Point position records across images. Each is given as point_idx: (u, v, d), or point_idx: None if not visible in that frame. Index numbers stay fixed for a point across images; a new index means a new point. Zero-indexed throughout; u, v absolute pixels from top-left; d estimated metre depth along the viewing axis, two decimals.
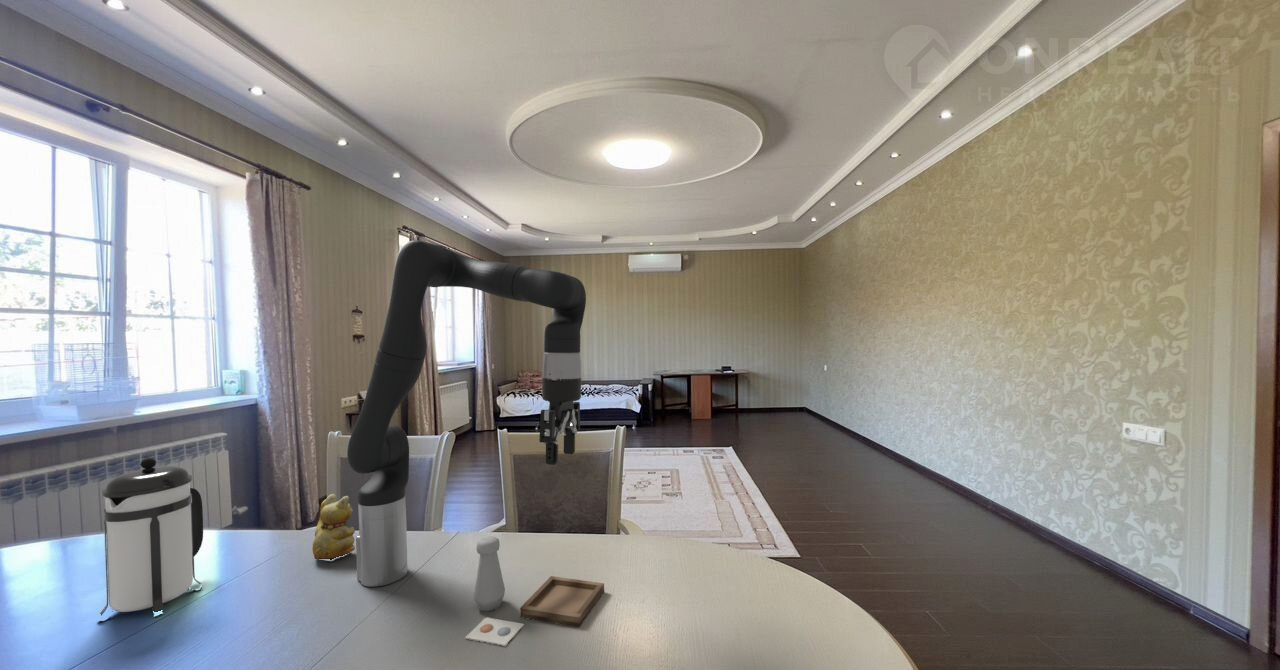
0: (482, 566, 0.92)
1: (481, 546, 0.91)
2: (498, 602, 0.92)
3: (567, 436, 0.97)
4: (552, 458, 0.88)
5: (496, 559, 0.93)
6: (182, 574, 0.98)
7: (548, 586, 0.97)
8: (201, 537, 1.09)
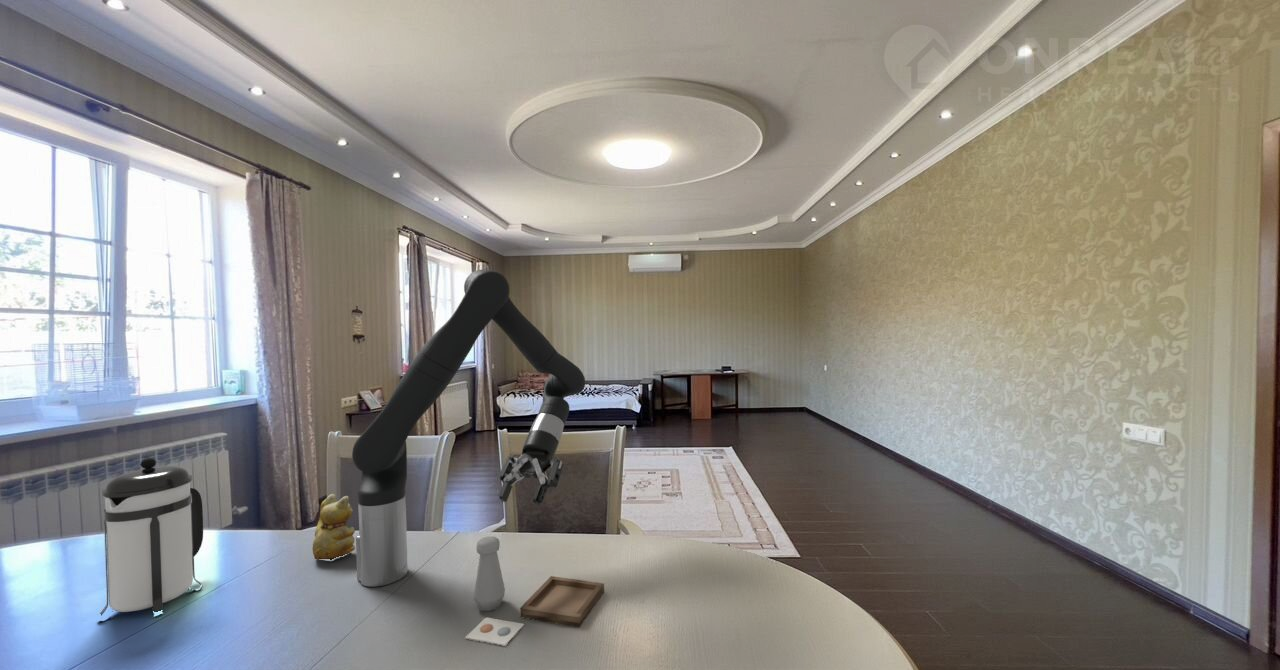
0: (482, 566, 0.92)
1: (481, 546, 0.91)
2: (498, 602, 0.92)
3: (509, 484, 1.07)
4: None
5: (496, 559, 0.93)
6: (182, 574, 0.98)
7: (548, 586, 0.97)
8: (201, 537, 1.09)
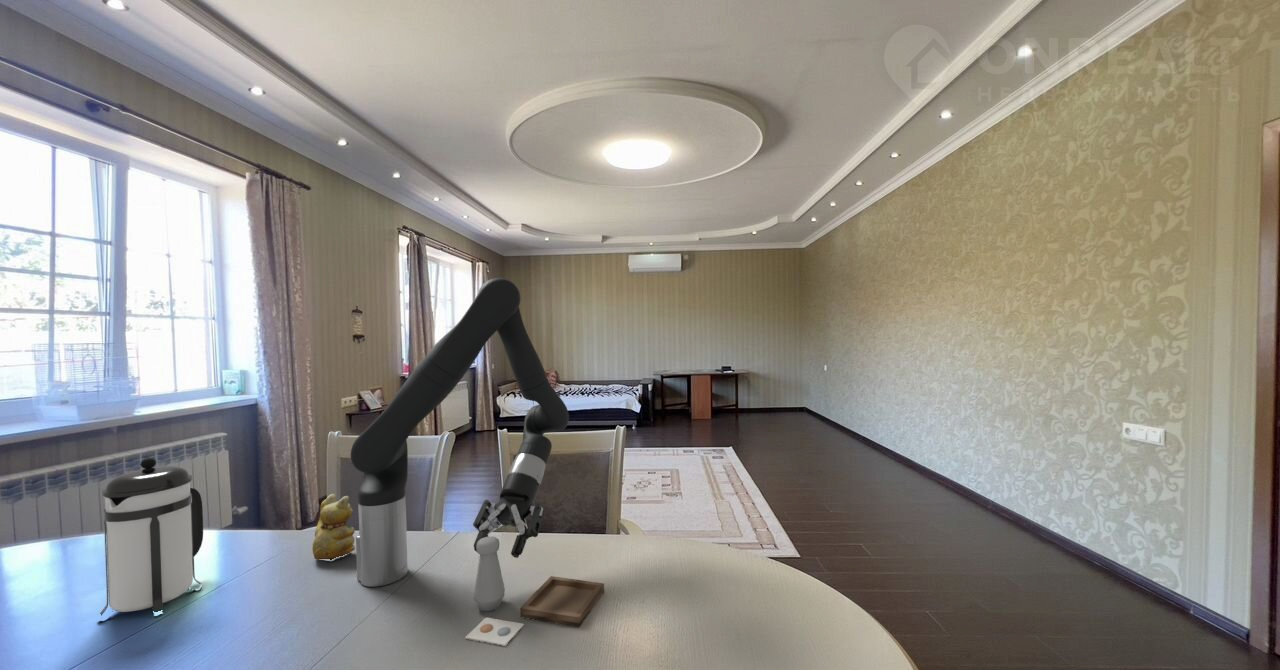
0: (482, 566, 0.91)
1: (480, 546, 0.91)
2: (498, 602, 0.92)
3: (485, 533, 0.99)
4: None
5: (496, 559, 0.93)
6: (182, 574, 0.98)
7: (548, 586, 0.97)
8: (201, 537, 1.09)
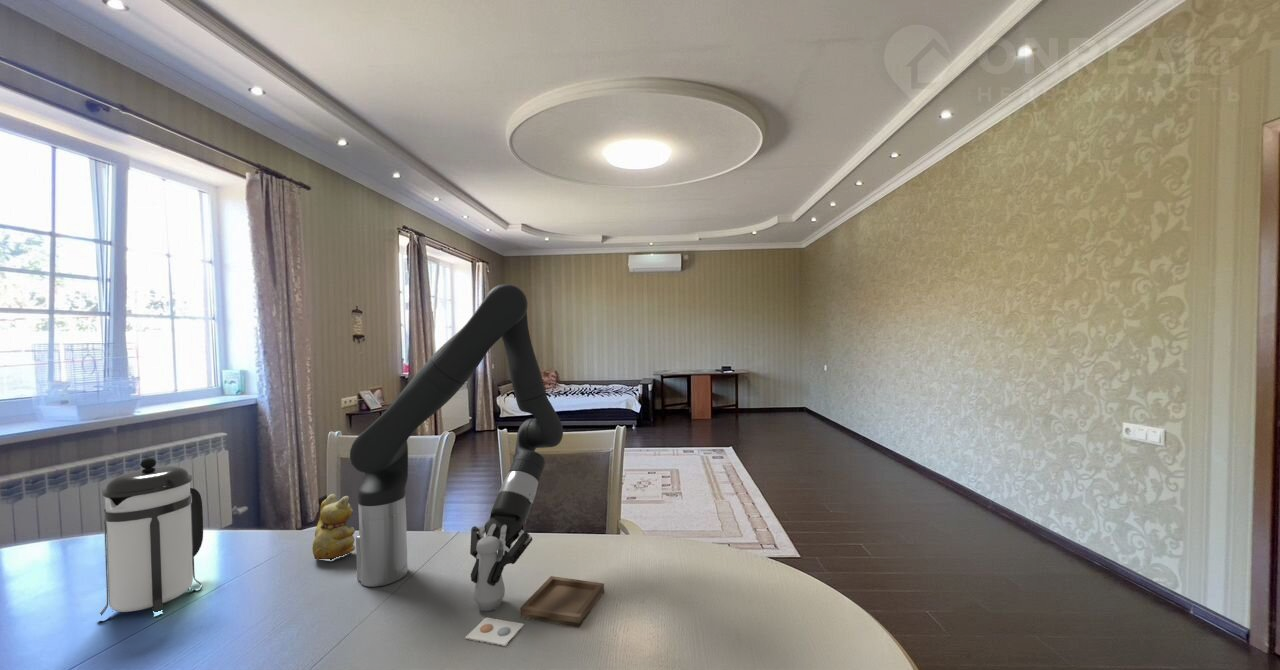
0: (482, 566, 0.92)
1: (480, 546, 0.91)
2: (498, 602, 0.92)
3: None
4: None
5: None
6: (182, 574, 0.98)
7: (548, 586, 0.97)
8: (201, 537, 1.09)
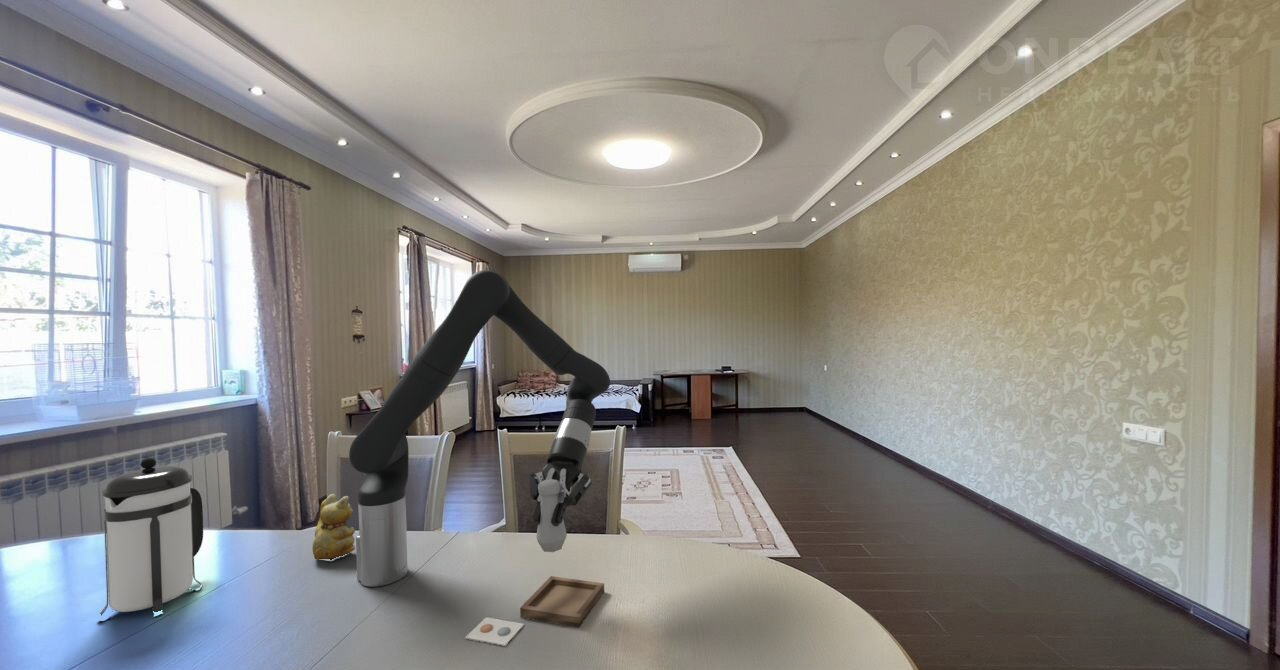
0: (545, 508, 0.91)
1: (543, 487, 0.91)
2: (561, 543, 0.92)
3: None
4: None
5: None
6: (182, 574, 0.98)
7: (548, 586, 0.97)
8: (201, 537, 1.09)
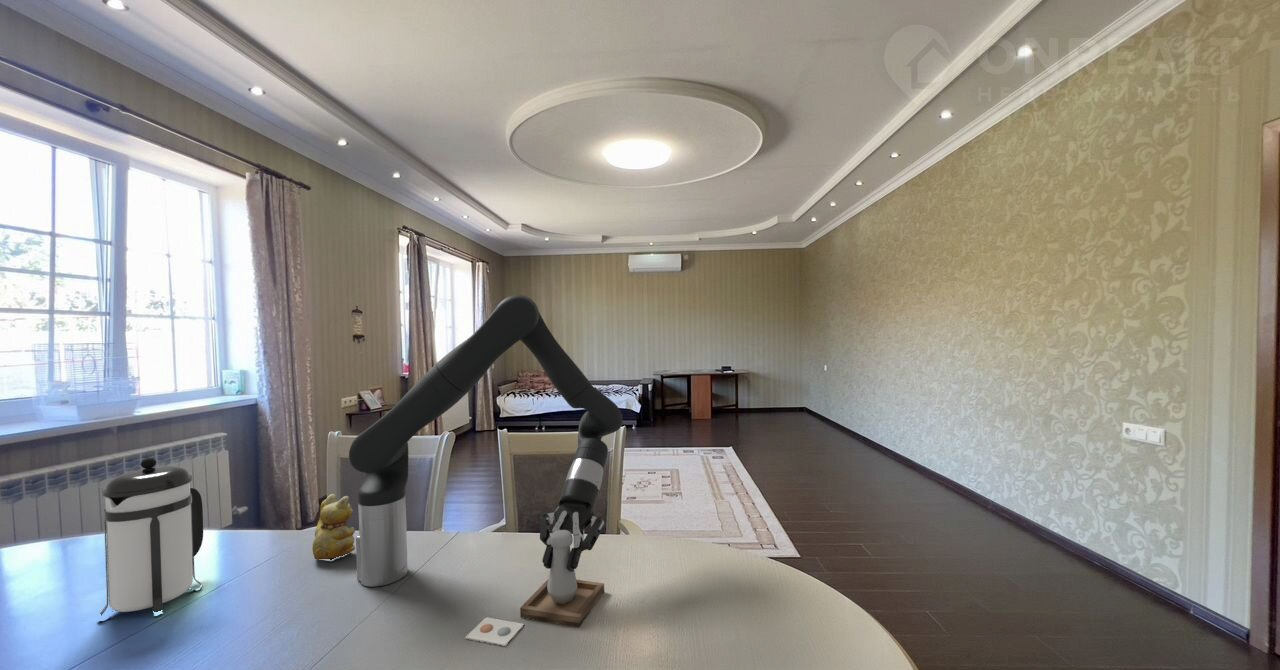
0: (557, 560, 0.91)
1: (556, 540, 0.91)
2: (572, 595, 0.92)
3: None
4: None
5: (569, 553, 0.93)
6: (182, 574, 0.98)
7: None
8: (201, 537, 1.09)
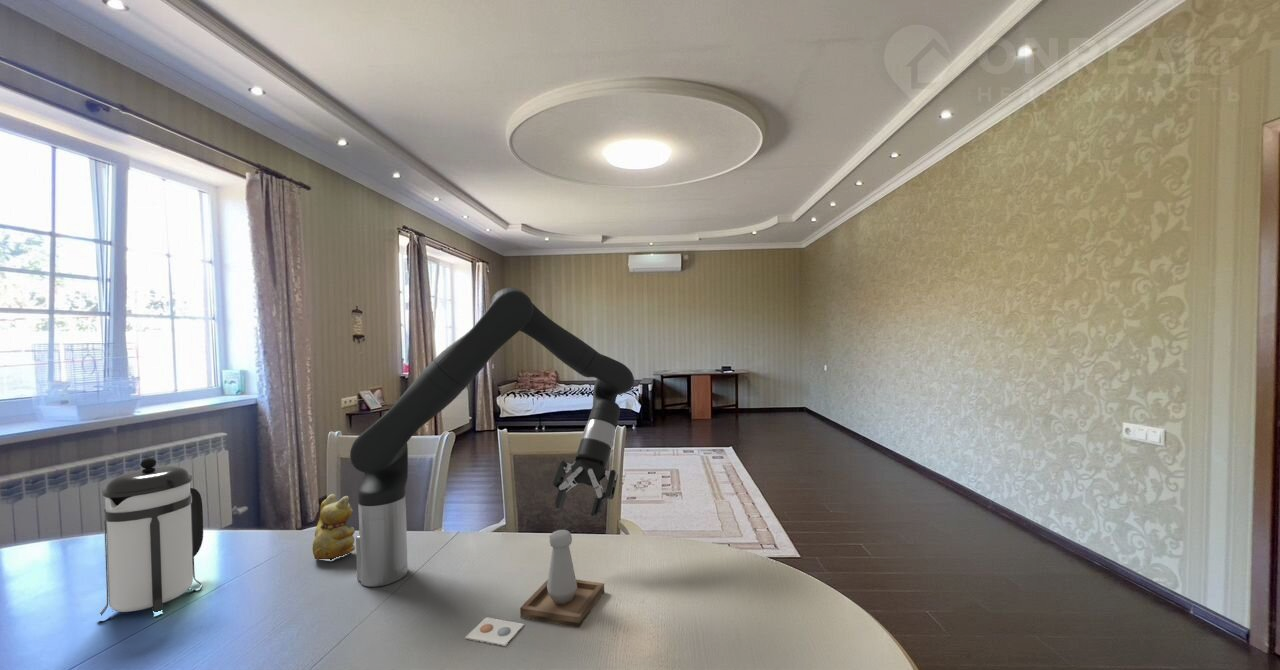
0: (556, 560, 0.92)
1: (555, 540, 0.91)
2: (572, 595, 0.92)
3: (564, 492, 1.08)
4: None
5: (569, 552, 0.93)
6: (182, 574, 0.98)
7: None
8: (201, 537, 1.09)
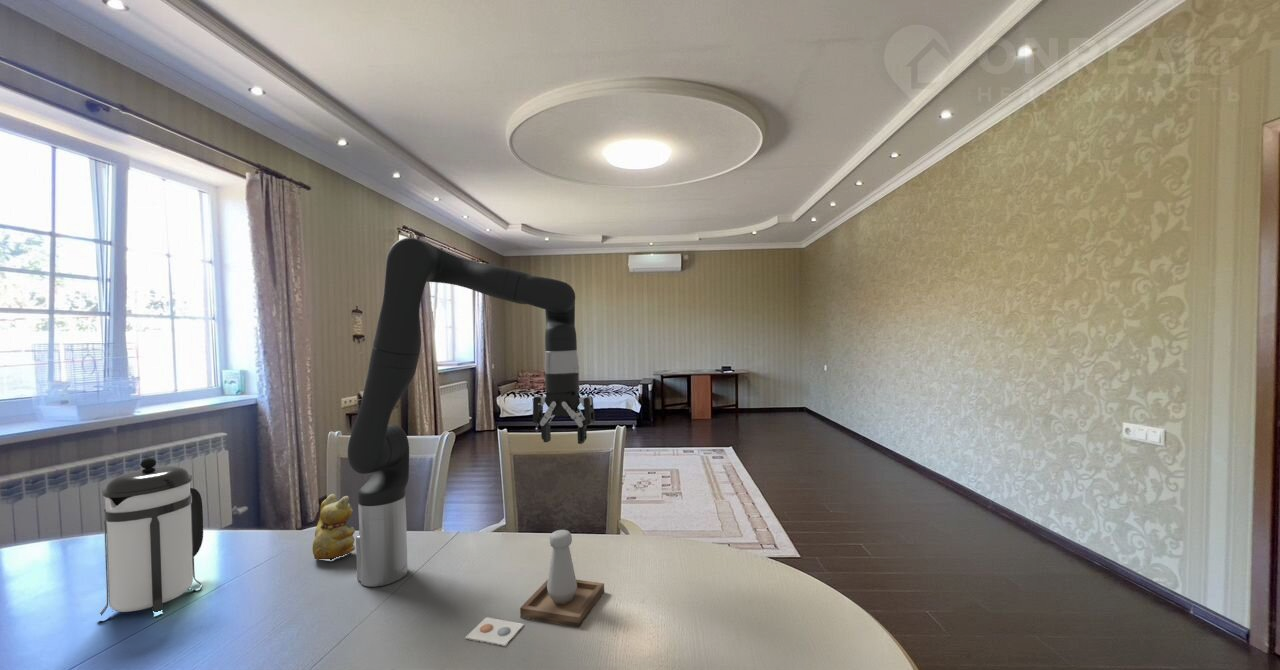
0: (556, 560, 0.92)
1: (555, 540, 0.91)
2: (572, 595, 0.92)
3: (547, 426, 1.09)
4: None
5: (569, 552, 0.93)
6: (182, 574, 0.98)
7: None
8: (201, 537, 1.09)
